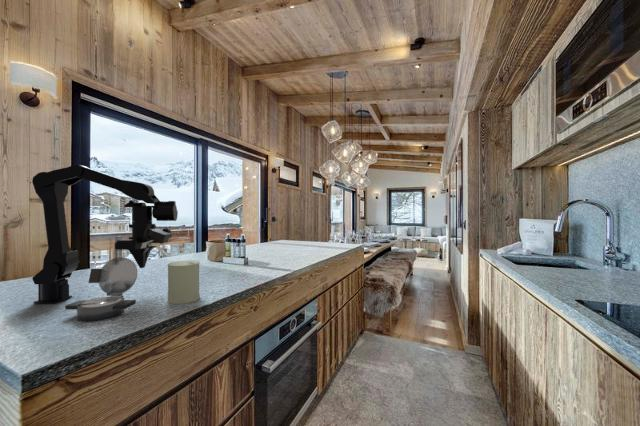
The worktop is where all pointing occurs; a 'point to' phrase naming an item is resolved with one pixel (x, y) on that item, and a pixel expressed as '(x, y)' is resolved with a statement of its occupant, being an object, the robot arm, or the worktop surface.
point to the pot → (100, 308)
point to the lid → (115, 276)
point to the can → (183, 282)
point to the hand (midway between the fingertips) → (142, 267)
